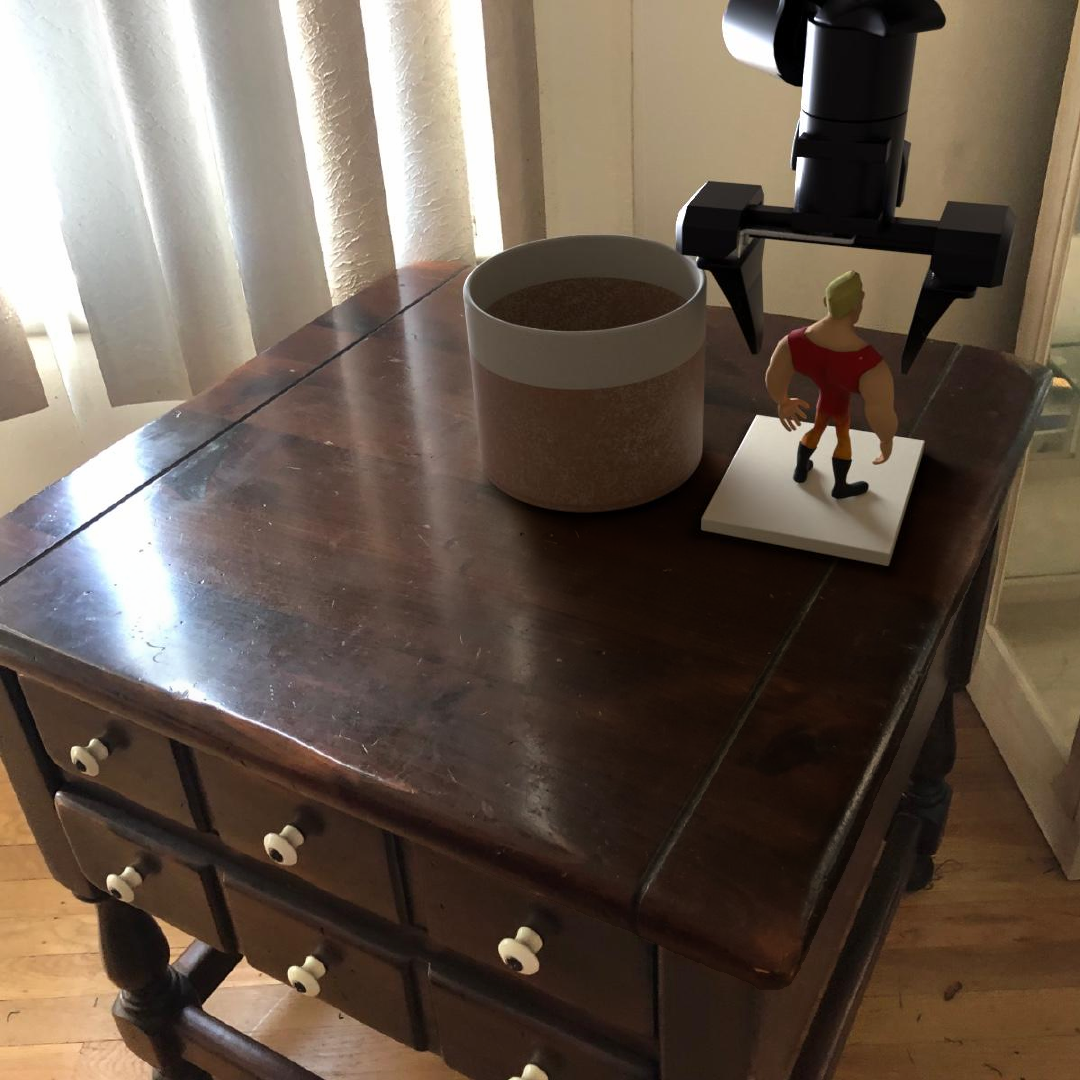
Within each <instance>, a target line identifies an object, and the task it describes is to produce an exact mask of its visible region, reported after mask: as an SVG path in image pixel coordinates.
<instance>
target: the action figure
mask: <svg viewBox="0 0 1080 1080" xmlns="http://www.w3.org/2000/svg"><path fill="white" fill-rule="evenodd" d="M865 296H866V293H865V291H863V282H862V278H861V275H860V273H859V272H857V271H855V270H848V271H846V272H845V273H843V274H842V275H840V276H839V277H836V278H835V279H833V280H832V281H831V282H830V283H829V284H828V286H827V287H826V289H825V296H824V297H823V305H824V307H825V308H827V310H828V313H827V315H826V316H825V317H824V318H822V319H820V320H818V321H817V322H815V323H813V324H811V325H807V326H804V327H801V328H798V329H794V330H792V331H790V333H788V334H787V335H785V336H784V337H783V338H782V339H781V340H779V341H778V343H777V346H776V347H775V350H774V351H773V353H772V355H771V357H770V363H769V365H768V368H767V369H766V372H765V386H766V390H767V393H768V395H769V397H770V398H771V400H772V401H773V402H775V404H777V416H778V418H779V419H780V422H781V423H782V425H783V426H784V428H785V429H786V430H787V431H789V432H791V431H792V429H793V430H794V431H795V430H796V427H795V426H794V424H793V423H792V421H791V420H793V421H794V422H795V424H796V425H797V426H801V422H802V421H800V420H799V418H798V416H797V415H799V416H800V417H801V418H802V419H805V420H806V419H807V418H808V416H807V414H805V412H804V411H802V410H801V409H800V407H799V405H800V406H801V407H802V408H804V409H809V408H810V404H808V402H807V401H805V400H803V399H799V398H791V397H789V395H788V389H789V385H790V383H791V382H792V381H791V380H792V377H793V376H794V375H795V373H798V374H800V375H801V376H804V377H806V378H808V379H811V381H812V382H813V383H814V384H815V385H816V386H817V388H818V391H819V395H818V396H819V397H818V399H817V403H816V406H815V407H816V412H815V419H814V423H813V424H814V427H813V428H812V429H811V430H810V431H808V432H807V433H805V435H804V436H803V437H802V439H801V441H799V446H798V451H797V466H796V468H795V470H794V474H793V480H794V481H795V482H797V483H804V482H805V481H806V479H807V473H808V471H810V470H811V469H812V468H813V464H814V463H813V461H812V460H810V457H811V455H812V454H813V453H814V451H815V450H816V449H817V445H818V443H819V441H820V438H821V436H822V434H823V433H824V431H825V429H826V427H827V426H829V423H830V422H831V420H832V421H833V422H834V427H835V429H836V436H837V445H836V447H835V449H834V453H833V456H832V467H833V473H834V478H835V484H834V487H833V489H832V491H831V496H832V497H834V498H836V499H843V498H848V497H853V496H858V495H861V494H864V493H865V492H867V491H868V488H869V485H868V483H867V482H865V481H858V482H855V483H851V484H848V483H846V478H847V474H848V471H849V469H850V467H851V463H852V459H851V457H852V451H851V441H850V436H849V429H850V427H851V409H850V407H851V397H852V394H858V395H861V396H862V397H863V399H864V415H865V418H866V421H867V423H868V425H869V427H870V429H871V430H872V432H873V433H875V434H876V435H877V437H878V438H879V439H880V450H881V454H880V457H879V458H876V459H875V461H873V462H872V464H874V465H879V464H882V463H884V462H886V461H887V460H888V459H889V457H890V455H891V453H892V447H893V437H894V436H896V433H897V431H898V428H899V427H898V426H899V419H898V416H897V413H896V411H895V408H894V403H895V386H894V385H895V384H894V377H893V375H892V371H891V368H890V367H889V365H888V364H887V362H886V361H885V359H884V356H883V355H882V354H881V353H880V352H879V351H878V350H877V349H876V348H875V347H874V346H873V345H872V344H870V343H867V342H866V341H865V340H864V339H862V338H861V337H859V336H858V335H857V333H856V332H855V329H854V328H855V325H856V324H857V323H858V322H859V320H860V315H861V313H862V311H863V302H864V299H865ZM796 414H797V415H796ZM784 419H786V421H787V423H788V425H789V426H790V427H791V428H792V429H791V428H790V427H789V426H788V425H787V423H786V421H785V420H784Z"/></svg>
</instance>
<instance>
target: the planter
mask: <svg viewBox="0 0 1080 1080" xmlns="http://www.w3.org/2000/svg"><path fill="white" fill-rule="evenodd" d="M696 259H697V258H695V257H694V256H686V255H681V254H680V253H678V252H677V251H676V246H673V245H670V244H668V243H665V242H661V241H659V240H658V241H657V240H654V239H651V238H650V239H649V238H646V237H640V236H639V237H638V236H632V235H624V234H609V233H608V234H607V233H591V234H590V233H589V234H587V233H586V234H585V233H584V234H572V235H563V236H562V235H561V236H554V237H549V238H543V239H538V240H533V241H530V242H526V243H523V244H519V245H515V246H513V247H511V248H507V249H505V250H503V251H501V252H498V253H496V254H494V255H491V256H490V257H489V258H487V259H485V260H484V261H482V262H481V263H480V264H478V265H477V266H476V267H475V268H474V269H473V270H472V271H471V272H470V273H469V274H468V276H467V277H466V279H465V282H464V284H463V289H462V290H463V303H464V304H463V305H464V311H465V312H464V313H465V321H466V322H465V323H466V331H467V340H468V350H469V351H468V352H469V359H470V367H471V368H470V370H471V379H472V388H473V398H474V406H475V407H474V408H475V417H476V426H477V427H476V428H477V437H478V446H479V454H480V455H479V456H480V463H481V466H482V469H483V471H484V473H485V474H486V476H487V478H488V479H489V480H490V482H492V484H493V485H495V486H496V488H498V490H500V491H501V492H504V493H505V494H506V495H508V496H510V497H511V498H514V499H516V500H518V501H520V502H523V503H525V504H528V505H531V506H534V507H538V508H542V509H547V510H552V511H557V512H565V513H578V514H579V513H580V514H581V513H582V514H583V513H588V514H589V513H590V514H591V513H605V512H613V511H620V510H626V509H629V508H630V509H631V508H633V507H637V506H641V505H644V504H647V503H650V502H653V501H655V500H658V499H659V498H660V499H661V498H662V497H664V496H666V495H668V494H670V493H671V492H673V491H675V490H676V489H678V488H679V487H680V486H682V485H683V484H685V482H686V481H688V479H689V478H690V477H691V476H692V475H693V474H694V473H695V471H696V469H698V467H699V465H700V462H701V459H702V456H703V447H704V446H703V443H704V442H703V441H704V411H705V410H704V409H705V408H704V406H705V371H706V369H705V368H706V340H707V339H706V338H707V337H706V334H707V303H708V302H707V301H708V299H707V297H708V294H707V293H708V277H707V273H706V270H701V269H699V268H697V265H696Z"/></svg>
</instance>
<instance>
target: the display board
mask: <svg viewBox="0 0 1080 1080" xmlns="http://www.w3.org/2000/svg"><path fill="white" fill-rule="evenodd" d="M784 420H785V421H786V419H785V418H784ZM791 421H792V423H793V424H794V426H795V427H796V430H795V431H794V430H793V429H792V428H791V427H790V426H789V425H788V423H787V421H786V423H787V425H788V426H789V427H790V428H791V429H792V431H791V432H789V431H787V430H786V429H785V428H784V426H783V425H782V423H781V422H780V419H779V417H774V416H766V415H761V414H760V415H759V414H756V416H755V418H754V419H753V421H752V423H751V425H750V426H749V428H748V430H747V432H746V434H745V436H744V438H743V440H742V442H741V444H740V445H739V448H738V449H737V451H736V453H735V455H734V456H733V458H732V460H731V462H730V464H729V467H728V468H727V470H726V472H725V474H724V475H723V477H722V479H721V481H720V483H719V485H718V487H717V489H716V490H715V492H714V494H713V496H712V498H711V500H710V501H709V503H708V505H707V508H706V509H705V510H704V513H703V514H702V516H701V520H700V522H701V523H700V530H701V531H704V532H709V533H714V534H720V535H725V536H730V537H735V538H740V539H745V540H750V541H755V542H761V543H766V544H771V545H776V546H781V547H785V548H786V547H787V548H791V549H792V548H793V549H797V550H801V551H802V550H803V551H807V552H813V553H818V554H823V555H826V556H827V555H828V556H833V557H837V558H844V559H848V560H854V561H859V562H864V563H868V564H869V563H870V564H875V565H880V566H884V567H889V566H890V564H891V560H892V557H893V554H894V550H895V547H896V543H897V541H898V536H899V533H900V531H901V526H902V523H903V521H904V517H905V513H906V511H907V507H908V503H909V501H910V496H911V494H912V491H913V487H914V484H915V481H916V478H917V475H918V474H917V473H918V470H919V468H920V465H921V464H920V463H921V460H922V457H923V454H924V450H925V444H926V443H925V440H923V439H922V440H921V439H915V438H911V437H909V438H908V437H902V436H897V435H895V436H894V437H893V447H892V453H891V455H890V457H889V459H888V460H887V461H886V462H884V463H882V464H879V465H874V464H872V462H873V461H875V459H876V458H879V457H880V454H881V450H880V439H879V438H878V437H877V435H876V434H875V433H874V432H871V431H862V430H858V429H852V428H851V429H850V428H849V436H850V441H851V451H852V457H851V459H852V463H851V467H850V469H849V471H848V474H847V478H846V483H848V484H851V483H855V482H858V481H865V482H867V483H868V485H869V488H868V491H867V492H865V493H864V494H861V495H858V496H853V497H848V498H843V499H836V498H834V497H832V496H831V491H832V489H833V487H834V484H835V478H834V473H833V467H832V456H833V453H834V449H835V447H836V445H837V436H836V429H835V426H831V425H827V427H826V429H825V431H824V433H823V434H822V436H821V438H820V441H819V443H818V445H817V449H816V450H815V451H814V453H813V454H812V455H811V457H810V460H812V461H813V463H814V464H813V468H812V469H811V470H810V471H808V473H807V479H806V481H805V482H804V483H797V482H795V481H794V480H793V474H794V470H795V468H796V466H797V451H798V446H799V441H801V439H802V437H803V436H804V435H805V433H807V432H808V431H810V430H811V429H812V428H813V427H814V424H815V423H813V422H806V421H800V422H801V426H797V425H796V424H795V422H794V421H793V419H791Z"/></svg>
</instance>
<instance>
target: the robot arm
mask: <svg viewBox="0 0 1080 1080" xmlns="http://www.w3.org/2000/svg"><path fill="white" fill-rule="evenodd" d="M946 24H947V17H946V14H945V12H944V11H943V8H942V6H941V5H940V4H939V2H938V1H936V0H728V2H727V7H726V9H725V11H724V12H723V15H722V36H723V39H724V42H725V45H726V48H727V49H728V51H729V53H730V54H731V55H732V57H733V58H735V60H737V61H738V62H739V63H741V64H743V65H746V66H747V67H751V68H753V69H755V70H757V71H759V72H760V73H764V74H765V75H768V76H770V77H772V78H774V79H777V80H779V81H781V82H784V83H786V84H788V85H791V86H793V87H797V88H802V90H801V91H802V93H801V107H800V116H799V117H798V121H797V125H796V128H795V133H794V137H793V141H792V148H791V154H790V155H791V156H790V161H789V163H790V169H791V170H792V171H793V172H795V174H796V175H795V185H794V186H795V188H794V189H795V190H794V198H793V199H794V201H793V206H792V207H790V206H780V205H768V204H764V203H765V193H764V190H763V186H762V184H750V183H739V182H727V181H716V180H708V181H706V182H705V183H704V184H703V185H702V186H701V187H700V188H699V189H698V190H697V191H696V192H695V193H694V194H693V195H692V197H691V198H690V199H689V200H688V201H687V203H686V204H684V206H683V207H682V208H681V209H680V211H678V216H677V220H676V223H675V247H676V251H677V252H678V253H680V254H681V255H686V256H692V257H696V258H695V259H696V265H697V268H699V269H701V270H704V271H708V272H709V273H711V275H712V277H713V278H714V280H715V282H716V283H717V285H718V287H719V289H720V290H721V292H722V294H723V296H724V297H725V298H726V301H727V302H728V304H729V306H730V308H731V310H732V312H733V315H734V316H735V319H736V321H737V324H738V326H739V329H740V330H741V333H742V336H743V338H744V340H745V343H746V344H747V347H748V349H749V352H750V354H751V355H752V356H758V355H759V354H760V352H761V350H762V347H763V338H764V328H765V322H764V321H765V320H764V319H765V318H764V317H765V315H764V289H763V288H764V287H763V286H764V285H763V284H764V283H763V259H764V252H765V246H766V245H765V243H766V240H773V241H782V242H783V241H784V242H794V243H802V244H812V245H813V244H814V245H821V246H834V247H844V248H852V249H863V250H873V251H874V250H875V251H883V252H893V253H902V254H903V253H904V254H913V255H924V256H930V261H929V265H928V269H927V271H926V274H925V276H924V278H923V281H922V284H921V286H920V290H919V294H918V297H917V301H916V303H915V307H914V311H913V315H912V318H911V322H910V325H909V329H908V333H907V335H906V339H905V343H904V346H903V349H902V353H901V357H900V366H899V375H901V376H907V375H908V373H909V371H910V369H911V368H912V366H913V364H914V363H915V360H916V358H917V357H918V355H919V353H920V351H921V349H922V348H923V345H924V344H925V342H926V340H927V338H928V336H929V335H930V333H931V331H932V330H933V328H934V327H935V326H936V325H937V323H938V322H939V320H940V319H941V318H942V317H943V315H944V314H945V313H946V312H947V310H948V309H949V308H950V307H951V305H952V304H953V303H954V302H955V300H958V299H959V300H960V299H961V300H970V299H973V298H975V297H976V296H977V292H978V289H979V288H984V289H992V288H996V287H1002V286H1003V283H1004V280H1005V276H1006V271H1007V267H1008V264H1009V260H1010V256H1011V252H1012V247H1013V242H1014V237H1015V233H1016V232H1015V231H1016V226H1017V222H1018V221H1017V220H1018V217H1017V215H1016V214H1015V213H1014V212H1013V210H1012V208H1011V207H1010V206H1009V205H1002V204H992V203H991V204H990V203H979V202H967V201H955V200H954V201H953V200H947V201H946V204H945V206H944V209H943V211H942V214H941V215H940V219H939V220H938V219H937V220H936V219H923V218H915V217H914V218H912V217H902V216H896V208H901V207H902V205H903V203H904V199H905V193H906V185H907V177H908V172H909V159H910V153H911V148H912V147H911V146H912V142H910V141H908V140H907V139H905V135H906V129H907V120H908V113H909V106H910V105H909V104H910V96H911V89H912V81H913V74H914V73H913V72H914V64H915V58H916V49H917V43H918V42H917V41H918V35H919V34H920V33H927V32H932V31H938V30H942V29H943V28H944V27H946Z"/></svg>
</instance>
